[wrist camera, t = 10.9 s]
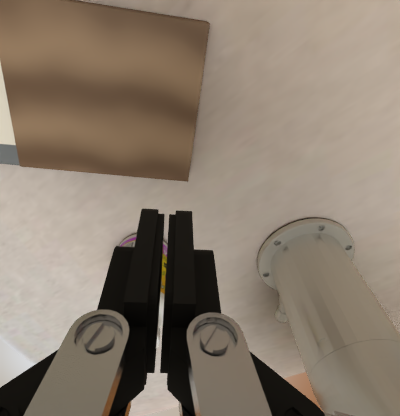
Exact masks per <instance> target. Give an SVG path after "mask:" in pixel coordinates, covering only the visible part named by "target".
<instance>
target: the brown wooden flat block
mask: <svg viewBox="0 0 400 416" xmlns="http://www.w3.org/2000/svg"><path fill="white" fill-rule="evenodd" d="M209 26H210V24H209V23H208V22H207V21H201V20H194V19H188V18H182V17H176V16H169V15H163V14H157V13H151V12H144V11H138V10H132V9H126V8H120V7H113V6H107V5H101V4H95V3H88V2H82V1H76V0H0V62H1V68H2V73H3V79H4V84H5V89H6V95H7V100H8V105H9V111H10V116H11V121H12V127H13V132H14V138H15V143H16V148H17V154H18V159H19V164H20V166H22V167H33V168H44V169H55V170H66V171H77V172H88V173H99V174H111V175H122V176H133V177H144V178H155V179H166V180H177V181H188V177H189V170H190V163H191V156H192V149H193V141H194V134H195V127H196V120H197V112H198V105H199V98H200V91H201V84H202V76H203V69H204V62H205V55H206V47H207V40H208V33H209Z"/></svg>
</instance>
